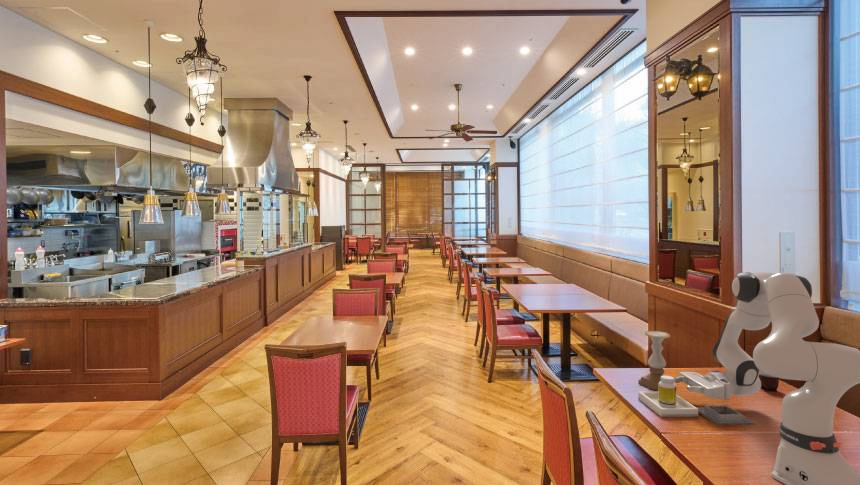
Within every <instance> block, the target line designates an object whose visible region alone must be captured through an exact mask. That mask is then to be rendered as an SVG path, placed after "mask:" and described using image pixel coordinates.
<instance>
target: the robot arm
mask: <svg viewBox="0 0 860 485" xmlns="http://www.w3.org/2000/svg"><path fill="white" fill-rule="evenodd" d="M731 291H732V294H733V296H734V298H735V299H736V300H737V304H736V307H735V309H733V310H732V311H731V312H730V313H729V314H728V316H727V317H726V319H725V322H724V325H723V327H722V330H721V333H720V335H719V337H718V340H717V341H716V342H715V343H714V346H712V347H713V348H712V356H713V358H714V359H715V360H716V361H717V362H718V363H719V364H721V365H722V366H723V367H724V368H725V369H726V370H725V372H724V373H723V371H721V372H711V371H709V372H707V373H706V374H705V375H702V374H700V373H698V372H694V371H680V372H678V374H679V375H678V377H677V376H676V377H673V378H674V382H673V383H675V384H677V383H678V384H680V383H684V384H685V385H687V386H686V390H687V391H688V392H695V393H700V394H701V395H703V396H705V397H707V398H710V399H719V400H720V399H722V400H725V401H729V400H731V395H733V396H748V395H753V394H756V393H759V391H760V390H761V389H762V388H761V381H760V379H759V373H760V372H762V373H763V374H766V375H770V376H773V377H777V378H779V379H784V380H793V381H804V382H805V383H804V385H802V386H801V387H800V388H798V389H795V390H792V391H789V392H788V393H786V394H785V396H784V397H783V398H782V409H781V410H782V412H781V413H782V414H781V417H782V418H781V421H780V423H779V436H780V437H781V438H780V442H779V444H778V447H777V450H776V457H775V462H774V463H775V464H774V466H773V470H772V471H771V477H772V478H773V479H775V480H777V481H778V482H779V483H780V482H781V483H782V484H783V485H860V475H859V473H858V471H857V470H856V468H853V467H852V466H851V465H850V463H849V462H848V461H847V459H846V458H845V457H844V456H843V455H842V454H841V452H840V449H839V448H843V446H842V445H843V443H842V442H837V439H836V438H837V437H836V436H835V434H834V418H835V410H836V407H837V404H838V403H839V401H840V399H841V398H842V396H843V395H844V394H845V393H846V392H848V391H849V390H850V389H851V388H853V387H854V386H856V385H858V384H860V350H859V349H858V348H856V347H852V346H849V345H844V344H841V343H840V344H839V343H831V342H817V341H816V342H815V341H807V340H806V341H805V340H804V339H803V338H806V337H808V336H810V335H812V334H814V332H816V331H817V330H818V328H819V327H820V326H819V325H820V319H819V316H818V314H817V311H816V308H815V305H814V304H813V301H812V296H813V287H812V283H811V282H810V281H809V280H808V278H806V277H804V276H801V275H796V274H793V273H789V272H779V273H773V272H764V271H763V272H762V271H761V272H750V271H745V272H744V271H743V272H739V273H737V274H736V275H734V277H733V279H732V283H731ZM770 323H771V330H770V333H769V334H768V336H767V337H766V338H765V339H763V340H761V341H759V342H758V343H757V344H756V346H754V349H753V352H752V357H751V355H749V354H748V353H747V352H746V351H745V350H744V349H743V348H742V346H740V344H739V337H740V335H741V333H742V331H743V330H747V331H759V330H763V329H766V328H768V326H769V325H770Z"/></svg>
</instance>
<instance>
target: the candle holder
mask: <svg viewBox="0 0 860 485" xmlns="http://www.w3.org/2000/svg"><path fill="white" fill-rule="evenodd" d="M670 334H671V333H668V332H665V331H659V330H647V331H645V332H644V335H645V336H646V337H648V338H649V337H650V339H651V341H652V344H651V346H650V348H651V351H652V353H651V355H650V357H649V358H648V360H647V364H648V366H650V367H649V369H648V370H649V372H650V373H648V374H647V375H643V376H641V377H640V379H638V382H637V384H638V385H640V386H643V387H646V388H649V389H651V390H653V391H658V384H659V382H660V381H661V376H664V374H665V369H664V368H665V367H666V365H667V362H666V360H665V358H664V356H663V355H662V352H663V350H664V346H663V345H662V343H663V341H664V339H668V338H670V337H671V335H670ZM673 383H674V384H675V385H676V383H675V382H673Z"/></svg>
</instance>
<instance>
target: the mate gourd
mask: <svg viewBox="0 0 860 485" xmlns="http://www.w3.org/2000/svg"><path fill="white" fill-rule="evenodd" d="M758 377H759V379H760V381H761V388H760V389H762V390H765V392H766V393H767V392H770V391H771V392H775V393H777V392H778V389H779V388H778V387H779V383H780V378H777V377H773V376H770V375H766V374H763V373H762V372H761V371H759V374H758Z"/></svg>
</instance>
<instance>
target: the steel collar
mask: <svg viewBox="0 0 860 485" xmlns="http://www.w3.org/2000/svg"><path fill="white" fill-rule="evenodd" d="M697 408H698V414H700V415H701V416H703V417H705V418H706V419H707V420H709V421H710V422H712V423H714V424H715V425H716V426H720V425H721V426H723V425H725V426H733V425H734V426H735V425H741V426H742V425H743V426H747V425H752V426H753V425H754V426H755V425H756V422H754V421H753V420H751V419H750V418H748V417H746V416H744V414H743V413H740V412H739V411H737V410H736V409H734V408H732V407H731V406H729V405H728V404H727V405H724V404H723V405H722V404H721V405H720V404H718V405H717V404H714V405H713V404H712V405H707V404H706V405H704V407H697Z"/></svg>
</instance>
